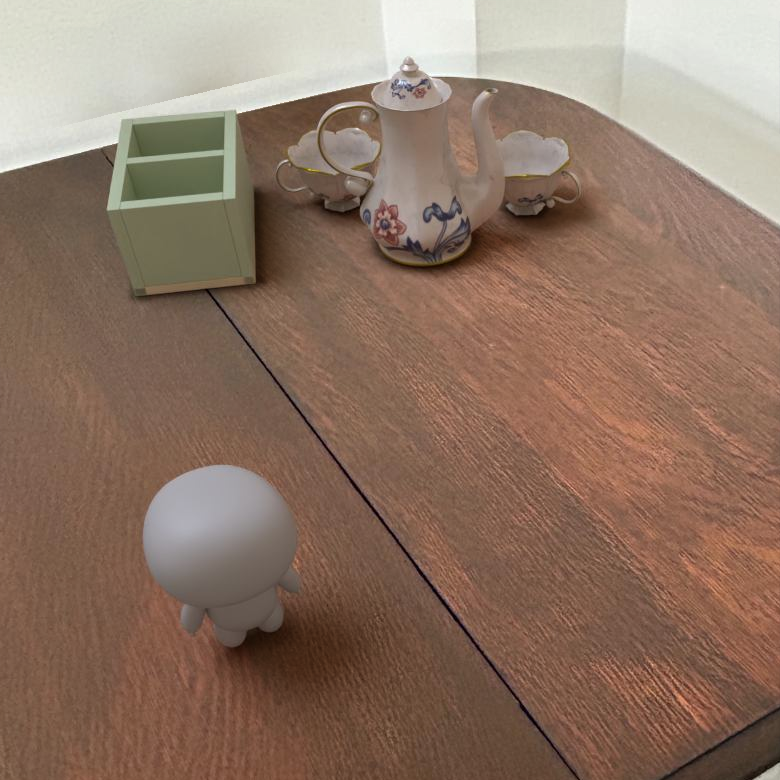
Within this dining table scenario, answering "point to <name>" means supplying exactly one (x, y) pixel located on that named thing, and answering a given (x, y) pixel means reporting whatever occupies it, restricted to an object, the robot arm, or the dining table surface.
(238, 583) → the figurine
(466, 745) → the dining table surface
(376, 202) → the chinaware
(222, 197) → the shelf
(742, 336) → the dining table surface
